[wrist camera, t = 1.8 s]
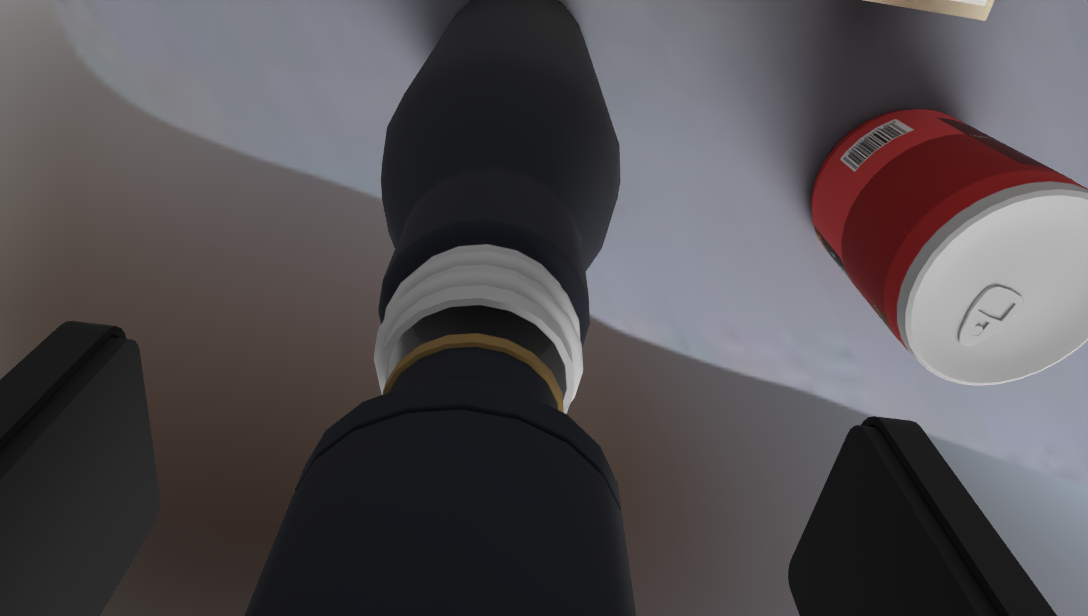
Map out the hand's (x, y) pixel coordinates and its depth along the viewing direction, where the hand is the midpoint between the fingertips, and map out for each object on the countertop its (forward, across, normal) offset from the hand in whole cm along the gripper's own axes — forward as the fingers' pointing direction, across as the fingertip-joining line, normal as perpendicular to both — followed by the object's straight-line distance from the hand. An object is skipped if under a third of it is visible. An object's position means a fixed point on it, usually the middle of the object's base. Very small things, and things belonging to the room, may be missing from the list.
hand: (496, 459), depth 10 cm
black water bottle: (+26, 0, 0) cm, 26 cm away
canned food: (+26, -18, +3) cm, 32 cm away
